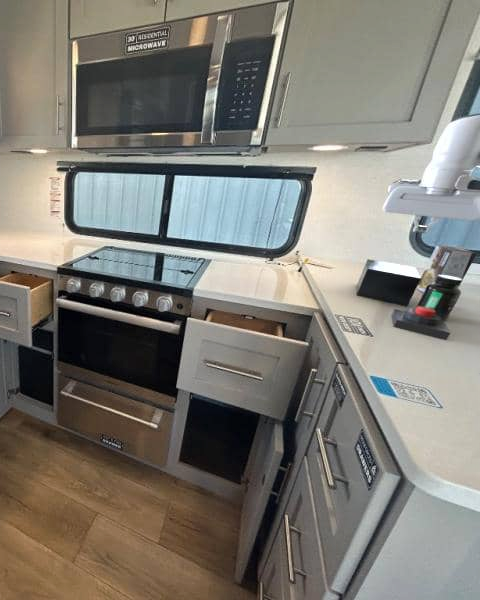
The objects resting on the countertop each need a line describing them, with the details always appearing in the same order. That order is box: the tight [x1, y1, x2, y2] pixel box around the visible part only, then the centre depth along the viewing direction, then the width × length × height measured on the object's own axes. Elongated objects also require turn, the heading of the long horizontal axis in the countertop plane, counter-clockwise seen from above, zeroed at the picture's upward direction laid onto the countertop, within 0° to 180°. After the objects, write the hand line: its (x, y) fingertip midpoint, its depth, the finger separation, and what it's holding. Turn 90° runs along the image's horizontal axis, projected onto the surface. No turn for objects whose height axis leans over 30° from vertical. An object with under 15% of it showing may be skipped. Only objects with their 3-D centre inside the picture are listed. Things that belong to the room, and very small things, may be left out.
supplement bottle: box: [415, 275, 463, 321], centre depth 94 cm, size 7×7×12 cm
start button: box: [414, 305, 436, 317], centre depth 86 cm, size 4×4×2 cm
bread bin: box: [355, 261, 420, 308], centre depth 109 cm, size 16×13×9 cm
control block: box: [391, 308, 451, 341], centre depth 87 cm, size 10×10×4 cm
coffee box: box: [416, 245, 478, 293], centre depth 112 cm, size 9×6×16 cm
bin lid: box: [366, 259, 422, 281], centre depth 107 cm, size 16×13×1 cm
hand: (419, 232), depth 95 cm, fingers closed
